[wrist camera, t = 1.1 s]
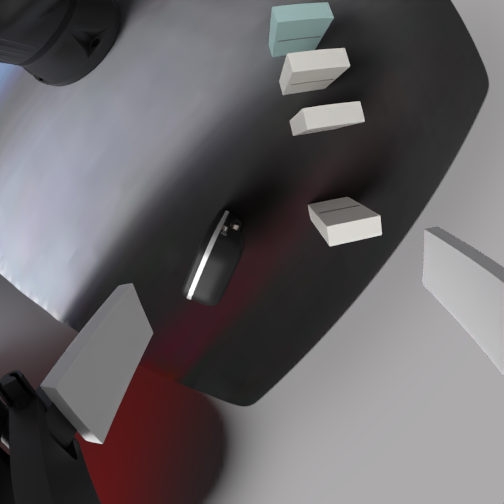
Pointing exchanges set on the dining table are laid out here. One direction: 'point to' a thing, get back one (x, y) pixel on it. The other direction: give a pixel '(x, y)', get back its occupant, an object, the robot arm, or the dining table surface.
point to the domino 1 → (298, 27)
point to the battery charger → (215, 260)
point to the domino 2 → (312, 69)
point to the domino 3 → (326, 117)
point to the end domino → (344, 220)
